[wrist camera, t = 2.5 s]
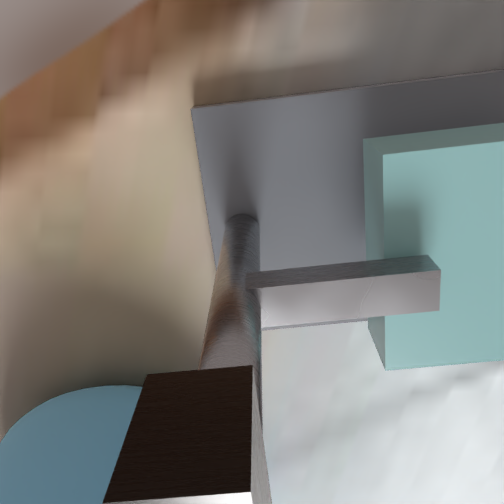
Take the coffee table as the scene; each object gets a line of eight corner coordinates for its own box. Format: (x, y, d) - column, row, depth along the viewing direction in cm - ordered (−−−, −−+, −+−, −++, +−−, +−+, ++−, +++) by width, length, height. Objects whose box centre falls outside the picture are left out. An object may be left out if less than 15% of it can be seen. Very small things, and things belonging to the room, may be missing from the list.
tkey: (381, 160, 20) (728, 456, 5) (382, 265, 22) (642, 705, 7) (214, 178, 21) (102, 503, 6) (229, 281, 23) (175, 727, 8)
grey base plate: (570, 60, 20) (641, 62, 16) (540, 293, 24) (592, 336, 20) (193, 106, 21) (179, 117, 17) (227, 323, 25) (222, 370, 21)
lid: (589, 112, 17) (654, 124, 14) (560, 309, 20) (609, 350, 17) (363, 138, 17) (382, 154, 15) (368, 327, 20) (385, 370, 18)
